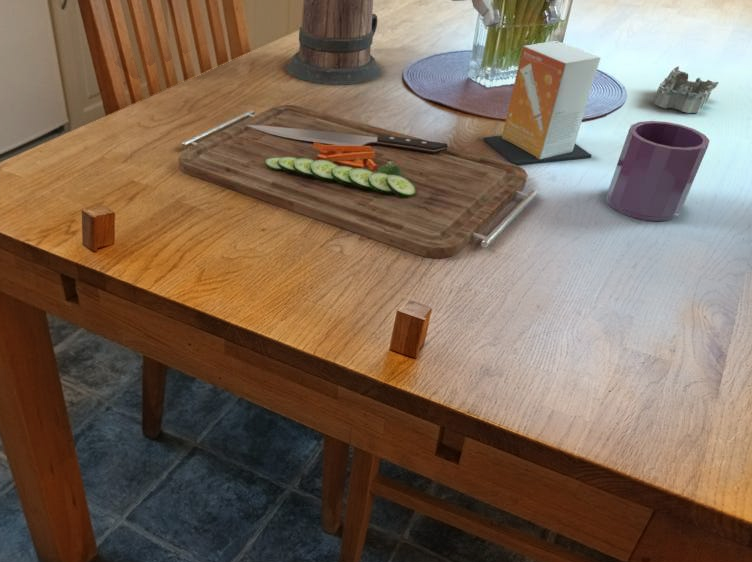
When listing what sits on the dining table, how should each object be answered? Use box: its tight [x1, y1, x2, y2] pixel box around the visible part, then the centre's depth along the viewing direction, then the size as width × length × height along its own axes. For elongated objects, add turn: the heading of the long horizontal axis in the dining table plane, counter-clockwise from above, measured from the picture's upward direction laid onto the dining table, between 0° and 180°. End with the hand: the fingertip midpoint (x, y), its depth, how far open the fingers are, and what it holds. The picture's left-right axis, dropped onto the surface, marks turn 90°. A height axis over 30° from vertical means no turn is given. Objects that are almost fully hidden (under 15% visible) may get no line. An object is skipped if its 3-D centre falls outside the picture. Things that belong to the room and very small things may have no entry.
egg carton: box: [653, 66, 719, 114], centre depth 117 cm, size 11×8×4 cm
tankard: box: [286, 0, 381, 86], centre depth 125 cm, size 24×17×20 cm
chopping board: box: [178, 104, 538, 259], centre depth 94 cm, size 45×27×3 cm, turn 54°
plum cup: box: [605, 120, 710, 222], centre depth 87 cm, size 9×9×9 cm
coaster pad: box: [483, 135, 593, 166], centre depth 103 cm, size 12×9×1 cm
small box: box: [501, 40, 601, 159], centre depth 98 cm, size 8×6×13 cm
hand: (523, 23), depth 101 cm, fingers open, 8 cm apart
